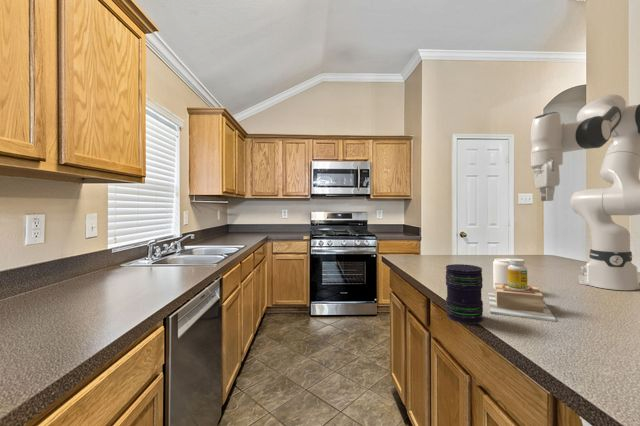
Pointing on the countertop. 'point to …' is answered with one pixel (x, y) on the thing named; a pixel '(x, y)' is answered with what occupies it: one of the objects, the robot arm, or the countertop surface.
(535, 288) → the stand
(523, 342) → the countertop surface
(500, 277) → the beverage can
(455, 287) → the storage jar
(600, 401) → the countertop surface
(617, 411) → the countertop surface
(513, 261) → the supplement bottle
